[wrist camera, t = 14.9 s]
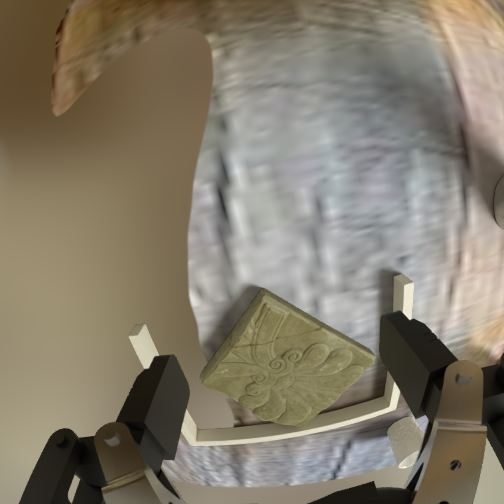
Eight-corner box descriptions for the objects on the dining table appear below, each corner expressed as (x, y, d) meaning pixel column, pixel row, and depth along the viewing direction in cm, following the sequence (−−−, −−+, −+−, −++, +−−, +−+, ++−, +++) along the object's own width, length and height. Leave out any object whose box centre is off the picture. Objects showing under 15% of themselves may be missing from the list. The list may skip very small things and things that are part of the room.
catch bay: (402, 273, 33) (413, 282, 30) (390, 398, 40) (395, 409, 37) (135, 324, 35) (128, 336, 32) (193, 433, 42) (191, 445, 39)
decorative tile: (263, 284, 33) (264, 296, 30) (372, 347, 37) (380, 361, 33) (193, 376, 38) (189, 392, 34) (296, 419, 41) (299, 433, 38)
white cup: (388, 421, 42) (404, 456, 33) (419, 409, 42) (437, 441, 32) (381, 440, 44) (394, 472, 35) (411, 429, 44) (426, 459, 35)
